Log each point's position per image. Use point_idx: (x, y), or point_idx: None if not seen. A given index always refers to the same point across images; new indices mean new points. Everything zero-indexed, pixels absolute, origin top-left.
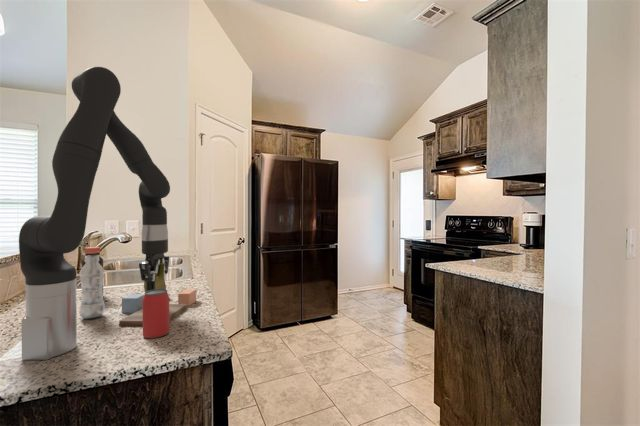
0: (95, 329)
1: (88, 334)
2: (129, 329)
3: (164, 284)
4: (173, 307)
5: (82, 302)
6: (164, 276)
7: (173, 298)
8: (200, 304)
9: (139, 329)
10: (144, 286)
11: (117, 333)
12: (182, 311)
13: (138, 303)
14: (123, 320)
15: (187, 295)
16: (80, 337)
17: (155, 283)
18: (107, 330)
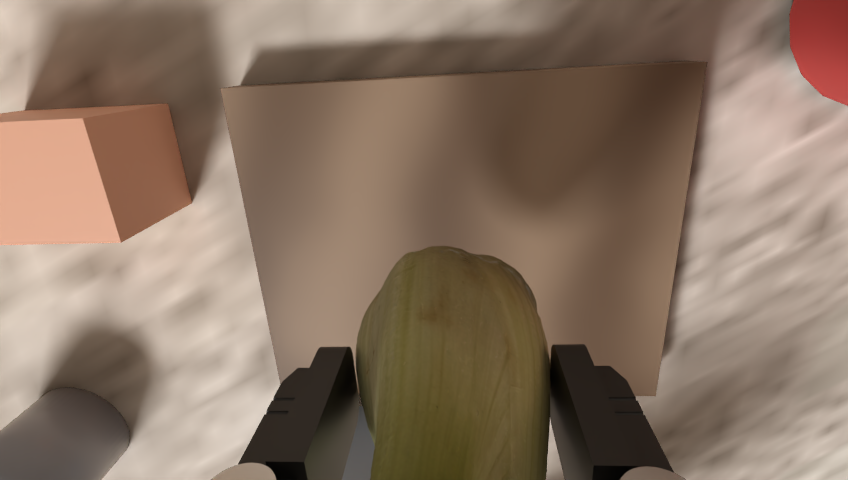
0: (686, 461)
1: (766, 450)
2: (722, 275)
3: (438, 313)
4: (333, 167)
5: None
6: (239, 464)
7: (43, 333)
8: (101, 6)
9: (735, 206)
10: None
11: (788, 307)
12: (323, 81)
13: (358, 452)
14: (650, 374)
15: (103, 135)
16: (808, 461)
17: (523, 431)
18: (716, 393)
